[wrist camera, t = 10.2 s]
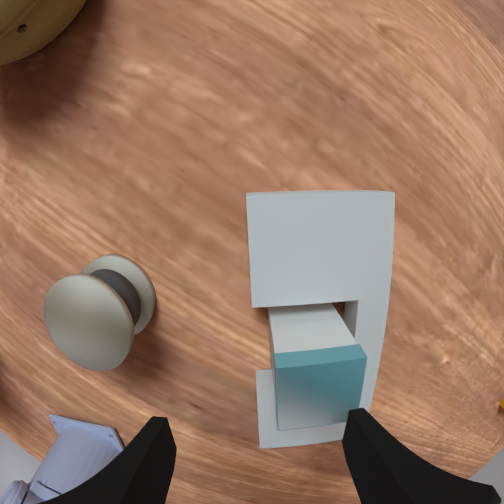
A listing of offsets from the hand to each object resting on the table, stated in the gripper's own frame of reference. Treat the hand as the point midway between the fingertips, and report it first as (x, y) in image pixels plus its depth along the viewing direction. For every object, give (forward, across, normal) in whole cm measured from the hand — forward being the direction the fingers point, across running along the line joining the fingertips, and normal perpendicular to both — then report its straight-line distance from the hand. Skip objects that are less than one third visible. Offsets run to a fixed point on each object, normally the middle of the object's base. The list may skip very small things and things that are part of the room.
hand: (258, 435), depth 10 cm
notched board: (+9, -4, 0) cm, 10 cm away
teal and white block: (+9, -3, 0) cm, 10 cm away
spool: (+9, +9, -3) cm, 13 cm away
